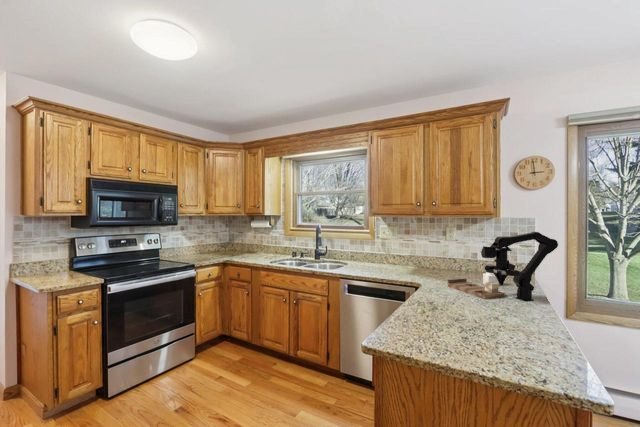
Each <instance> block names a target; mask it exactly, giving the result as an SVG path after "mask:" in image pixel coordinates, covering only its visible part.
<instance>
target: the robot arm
mask: <svg viewBox="0 0 640 427" xmlns="http://www.w3.org/2000/svg"><path fill="white" fill-rule="evenodd" d="M531 240H533V241H535V242H537V243H538V247H537V251H536V252H535V254H534V255H533V256H532V258H531V259H530V260H529V261H528V263H527V264H526V265H525V267H524V268H523V269H522V270H518V269H516V265H514V264H513V263H511V262H510V260H509V259H508V252H512V249H511V248H510V246H512V245H513V244H517V243H522V242H523V243H524V242H527V241H531ZM558 247H559V242H558V241H557V240H556V239H555V238H550V237H548V236H546V235H544V234H543V233H540V232H538V231H532V232H527V233H523V234H522V233H521V234H517V235H511V236H506V235H505V236H496V237H495V239H494V241H493V243H492V244H491V245H489V246H486V245H485V246H484V245H483V246H482V249H481V251H480V254H481V257H482V258H483V259H494V261H493V262H495V265H493V264H488V265H487V264H486V265H485V266H484V271H486V270H487V271H489V270H494V272H493V273H494V275H495V276H496V278H497V280H498V282H499V286H503V285H504V282H505V280H506V279H507V277H508V276H510V277H513V278H512V280H513V283H514V284H515V286H516V287H517V290H516V296H515V299H518V300H520V301H524V302H528V301H529V302H530V301H534V300H535V299H533V291H534V289H535V286H534V285H533V284H531V282H532V275H533V274H534V272H536V270H537V269H538V268H539V266H540V265H541V264H542V262H543V261H544V259H545V258H546V257H547V255H549V254H551V253H552V252H554V251H555V250H556V249H557V248H558Z"/></svg>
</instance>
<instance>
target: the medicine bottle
mask: <svg viewBox="0 0 640 427" xmlns="http://www.w3.org/2000/svg"><path fill="white" fill-rule="evenodd" d="M493 272H494V270H489V271H487V270H485V273H482V284H483V285H485V282H494V283H498V287H500V284H499V282H498V280H497V278H496V276H495V275H494V273H493Z"/></svg>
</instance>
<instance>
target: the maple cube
mask: <svg viewBox="0 0 640 427" xmlns="http://www.w3.org/2000/svg"><path fill="white" fill-rule="evenodd" d="M484 287H485V291H488V292H491V293H493V292H498V291H499V286H498V283H494V282H485V284H484Z"/></svg>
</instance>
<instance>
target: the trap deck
mask: <svg viewBox="0 0 640 427" xmlns="http://www.w3.org/2000/svg"><path fill="white" fill-rule="evenodd" d="M447 287H449V288H451V289H454V290H456V291H459V292H463V293H465V294H468V295H471V296H474V297H476V298H480V299H482V300H493V299H500V298H506V297H505V296H506V295H505V294H506V293H505V292H502V291H499V290H498V292H493V293H491V292H488V291H485V286H482V285H479V284H475V283H472V282H469V281H468V278H456V279H455V278H454V279H447Z"/></svg>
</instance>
